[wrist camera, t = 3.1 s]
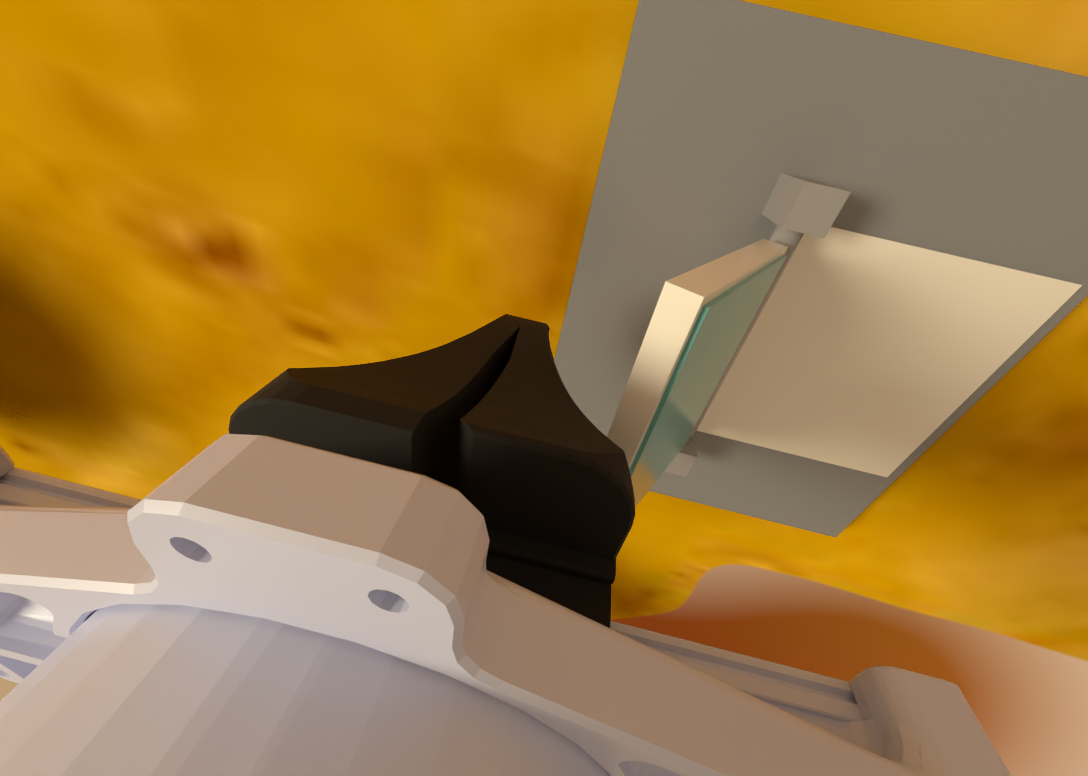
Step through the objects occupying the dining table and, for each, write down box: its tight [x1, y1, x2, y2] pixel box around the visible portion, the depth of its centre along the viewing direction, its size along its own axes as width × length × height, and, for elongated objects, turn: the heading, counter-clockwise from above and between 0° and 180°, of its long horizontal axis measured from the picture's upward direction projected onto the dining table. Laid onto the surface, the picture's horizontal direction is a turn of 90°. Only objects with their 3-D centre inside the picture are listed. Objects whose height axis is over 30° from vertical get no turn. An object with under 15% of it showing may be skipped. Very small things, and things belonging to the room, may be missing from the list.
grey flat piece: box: [554, 0, 1088, 537], centre depth 15 cm, size 18×16×3 cm
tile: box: [607, 239, 788, 507], centre depth 11 cm, size 8×7×1 cm
